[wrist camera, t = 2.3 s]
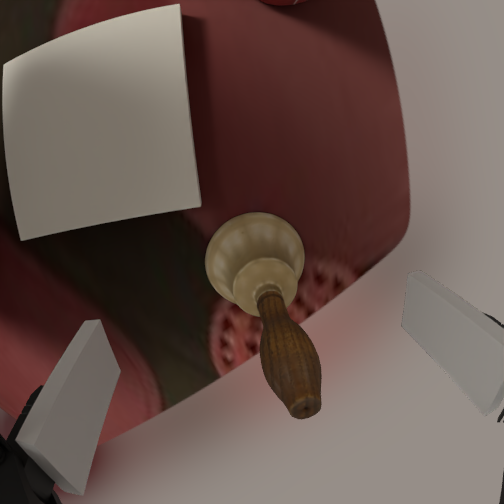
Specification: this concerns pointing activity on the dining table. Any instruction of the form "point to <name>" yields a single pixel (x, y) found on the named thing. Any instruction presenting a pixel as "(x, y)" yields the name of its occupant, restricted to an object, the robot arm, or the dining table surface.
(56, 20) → the dining table surface
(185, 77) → the stand
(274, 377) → the hand bell
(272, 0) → the smoothie
